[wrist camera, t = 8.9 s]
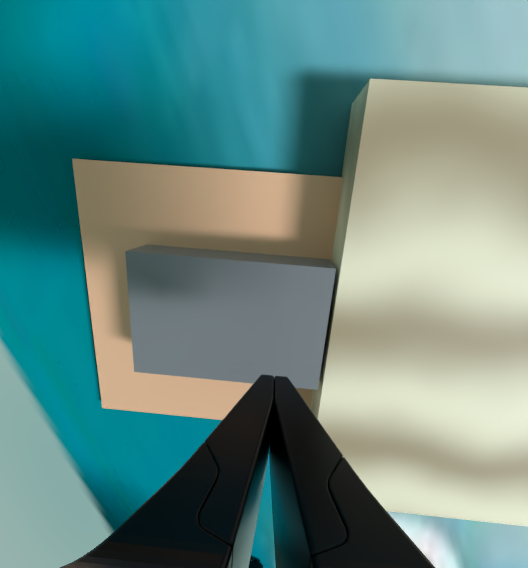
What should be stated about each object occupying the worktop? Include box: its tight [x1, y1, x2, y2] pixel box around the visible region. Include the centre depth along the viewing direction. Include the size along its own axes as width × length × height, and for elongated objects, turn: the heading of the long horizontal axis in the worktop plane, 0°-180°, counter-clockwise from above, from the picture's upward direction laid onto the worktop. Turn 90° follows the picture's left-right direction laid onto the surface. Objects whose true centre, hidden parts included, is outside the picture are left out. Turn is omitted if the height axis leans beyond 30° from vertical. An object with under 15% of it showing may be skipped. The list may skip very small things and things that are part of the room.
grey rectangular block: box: [125, 244, 336, 390], centre depth 13 cm, size 6×9×2 cm, turn 86°
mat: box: [72, 159, 343, 420], centre depth 15 cm, size 14×12×1 cm
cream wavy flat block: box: [310, 79, 528, 526], centre depth 13 cm, size 20×14×2 cm
